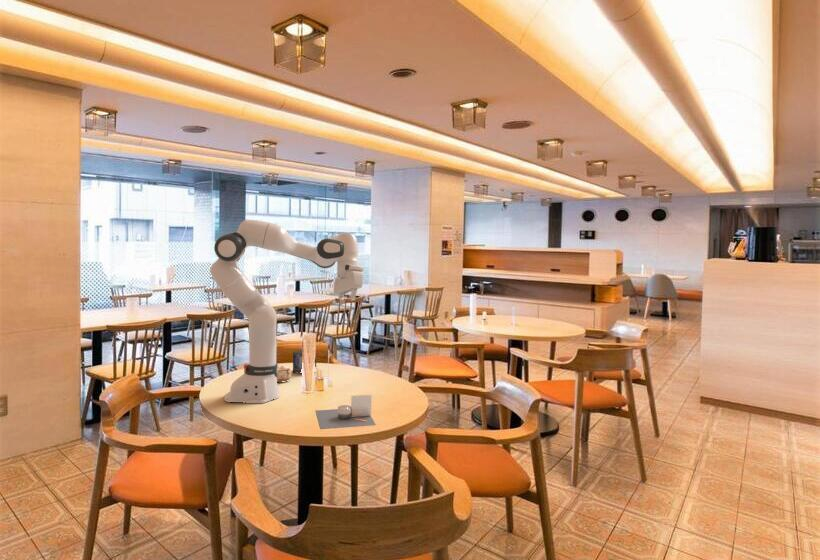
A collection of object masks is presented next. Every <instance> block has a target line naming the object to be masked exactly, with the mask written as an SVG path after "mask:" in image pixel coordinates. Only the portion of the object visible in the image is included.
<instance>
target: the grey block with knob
mask: <svg viewBox="0 0 820 560" xmlns="http://www.w3.org/2000/svg"><path fill="white" fill-rule="evenodd" d="M372 396H373V395H372V394H359V395H357V394H356V395H351V397H350V405H345V404H344V405H343V404H342V405H339V406H338V407H337V409H338V418H340V419H349V418H351V416H362V415H371V416H372Z"/></svg>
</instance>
